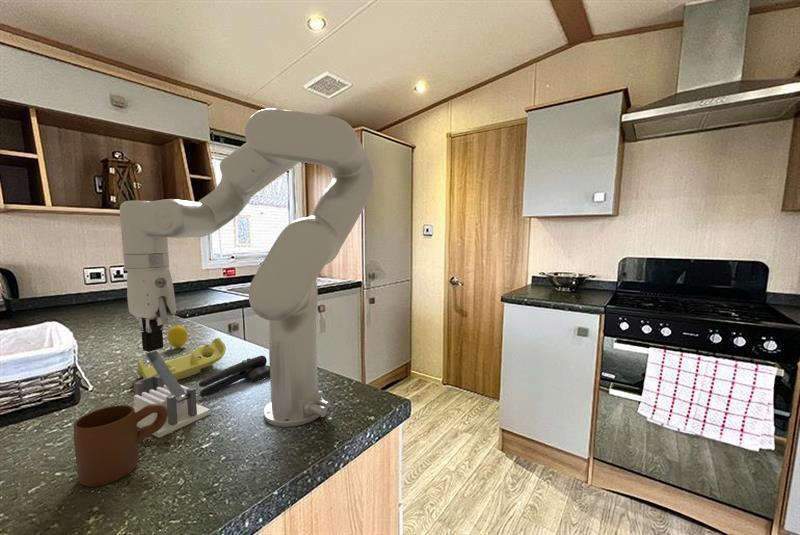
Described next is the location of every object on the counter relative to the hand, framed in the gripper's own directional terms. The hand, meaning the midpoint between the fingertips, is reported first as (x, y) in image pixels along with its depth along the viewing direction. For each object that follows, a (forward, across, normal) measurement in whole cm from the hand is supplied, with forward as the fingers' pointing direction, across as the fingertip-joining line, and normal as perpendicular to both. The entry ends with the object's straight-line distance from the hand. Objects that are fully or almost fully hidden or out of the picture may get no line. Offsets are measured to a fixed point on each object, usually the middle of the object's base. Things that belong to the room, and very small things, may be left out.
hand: (153, 349), depth 73 cm
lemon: (+14, +40, -25) cm, 49 cm away
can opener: (+14, -2, -17) cm, 23 cm away
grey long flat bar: (+5, -4, 0) cm, 7 cm away
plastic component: (+14, +16, -15) cm, 26 cm away
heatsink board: (+14, -3, 0) cm, 14 cm away
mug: (+14, -15, +12) cm, 23 cm away
